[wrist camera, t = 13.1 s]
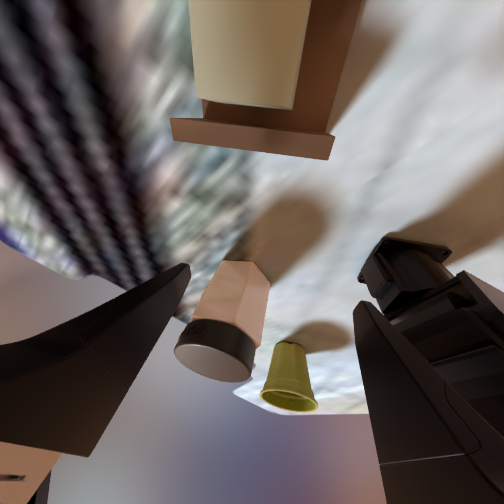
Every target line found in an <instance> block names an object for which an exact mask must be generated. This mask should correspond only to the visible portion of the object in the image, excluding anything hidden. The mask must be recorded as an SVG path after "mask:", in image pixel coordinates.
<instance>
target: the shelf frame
mask: <svg viewBox="0 0 504 504" xmlns="http://www.w3.org/2000/svg"><path fill="white" fill-rule="evenodd" d="M360 3H361V0H311V5H310V11H309V17H308V22H307V28H306V34H305V40H304V45H303V51H302V57H301V63H300V68H299V74H298V80H297V86H296V91H295V97H294V103H293V109H292V111H291V110H281V109H271V108H261V107H251V106H242V105H232V104H223V103H218V102H214V101H209V100H205V99H202V105H203V118H170V123H171V129H172V136H173V141H181V142H189V143H197V144H204V145H212V146H220V147H227V148H235V149H243V150H251V151H258V152H266V153H274V154H281V155H289V156H297V157H305V158H312V159H320V160H328V159H329V156H330V153H331V149H332V146H333V143H334V140H335V136H332V135H330V134H328V133H326V132H325V129H326V126H327V122H328V118H329V115H330V111H331V108H332V104H333V100H334V97H335V93H336V90H337V86H338V82H339V79H340V75H341V72H342V68H343V64H344V61H345V57H346V54H347V50H348V46H349V43H350V39H351V36H352V32H353V28H354V25H355V21H356V18H357V14H358V10H359V7H360Z"/></svg>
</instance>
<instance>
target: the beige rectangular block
mask: <svg viewBox="0 0 504 504" xmlns="http://www.w3.org/2000/svg"><path fill="white" fill-rule="evenodd" d="M188 2H189V14H190V27H191V39H192V52H193V64H194V76H195V89H196V98H200V99H205V100H209V101H214V102H218V103H223V104H232V105H242V106H251V107H261V108H271V109H281V110H291V111H292V109H293V103H294V97H295V91H296V86H297V80H298V74H299V68H300V63H301V57H302V51H303V45H304V40H305V34H306V28H307V22H308V17H309V11H310V5H311V0H188Z"/></svg>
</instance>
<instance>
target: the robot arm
mask: <svg viewBox="0 0 504 504" xmlns="http://www.w3.org/2000/svg"><path fill="white" fill-rule="evenodd" d="M386 241H388V242H387V243H385V242H386ZM443 252H444V253H443ZM451 253H452V251H451V250H450V249H449V248H448V247H443V246H437V245H431V244H425V243H419V242H414V241H408V240H402V239H396V238H390V237H385V238H383V239H381V241H380V242H379V244H378V245H377V247H376V248H375V250H374V252H373V253H372V254H371V255H370V256H369V258H368V259H367V261H366V262H365V264H364V266H363V267H362V269H361V272H360V274H359V275H358V277H357V279H358V282H360V283H364V284H367V287H368V289H369V292H370V294H371V296H372V297H373V298H376V300H377V302H378V305H379V307H380V309H381V311H382V313H383V314H385V315H383V314H382V313H381V312H380V311H379V310H378V309H377V308H376V307H375V306H374V305H373V304H372V303H371V302H368V301H363V300H362V301H360V302H359V303H358V305H357V306H356V307H355V309H354V310H353V323H354V335H355V345H356V350H357V355H358V360H359V365H360V370H361V375H362V380H363V385H364V390H365V395H366V400H367V405H368V410H369V415H370V420H371V425H372V429H373V435H374V440H375V445H376V450H377V455H378V460H379V464H380V471H381V476H382V481H383V486H384V491H385V496H386V501H387V504H504V292H502V291H500V290H498V289H497V288H495V287H493V286H491V285H489V284H488V283H486V282H484V281H482V280H481V279H479V278H477V277H475V276H474V275H472V274H470V273H468V272H466V271H465V270H463V271H462V272H460V273H458V274H456V275H457V276H455V277H454V276H453V275H452V274H451V273H450V272H449V271H448V270H447V269H446V268H445V267H444V266H443V265H442V263H443V262H444V261H445V260H446V259H447V258H448V257H449V255H450V254H451ZM190 279H191V270H190V265H189V264H186V263H180V264H178V265H176V266H174V267H172V268H170V269H169V270H167V271H165V272H163V273H161V274H159V275H157V276H155V277H153V278H152V279H150V280H148V281H146V282H144V283H142V284H140V285H138V286H136V287H135V288H133V289H131V290H129V291H127V292H125V293H123V294H121V295H119V296H118V297H116V298H115V299H112V300H110V301H108V302H106V303H104V304H102V305H101V306H98V307H96V308H94V309H92V310H90V311H88V312H86V313H84V314H82V315H80V316H78V317H76V318H74V319H71V320H69V321H67V322H65V323H63V324H60V325H58V326H56V327H54V328H52V329H49V330H47V331H45V332H43V333H40V334H38V335H36V336H33V337H31V338H28V339H25V340H22V341H18V342H14V343H9V344H4V345H0V504H47V500H48V492H49V483H50V476H51V469H52V467H53V466H54V464H55V463H56V462H57V460H58V459H59V457H60V456H61V455H62V453H66V454H71V455H77V456H82V457H89V456H90V454H91V453H92V451H93V450H94V448H95V446H96V444H97V443H98V441H99V439H100V438H101V436H102V434H103V433H104V431H105V429H106V427H107V426H108V424H109V422H110V421H111V419H112V417H113V416H114V414H115V412H116V410H117V409H118V407H119V405H120V404H121V402H122V400H123V399H124V397H125V395H126V393H127V392H128V390H129V388H130V386H131V385H132V383H133V381H134V380H135V378H136V376H137V375H138V373H139V371H140V369H141V368H142V366H143V364H144V363H145V361H146V359H147V358H148V356H149V354H150V352H151V351H152V349H153V347H154V346H155V344H156V342H157V341H158V339H159V337H160V335H161V334H162V332H163V330H164V329H165V327H166V325H167V324H168V322H169V320H170V318H171V317H172V315H173V313H174V312H175V310H176V308H177V307H178V305H179V303H180V301H181V299H182V297H183V294H184V292H185V290H186V288H187V286H188V283H189V281H190Z"/></svg>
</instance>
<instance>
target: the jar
mask: <svg viewBox="0 0 504 504" xmlns="http://www.w3.org/2000/svg"><path fill="white" fill-rule="evenodd" d="M269 289H270V282H269V281H268V280H267V279H266V277H265V276H264V275H263V274H262V272H261V271H260V270H259V269H258V267H257V266H256V265H255V264H254V263H253V262H245V261H227V260H223V261H221V263H220V265H219V267H218V269H217V271H216V272H215V274H214V276H213V278H212V280H211V281H210V282H209V284H208V286H207V288H206V290H205V291H204V293H203V295H202V297H201V299H200V301H199V303H198V305H197V308H196V309H195V311H194V313H193V315H192V317H191V320H190V322H189V323H188V324H187V326H186V328H185V329H184V331H183V332H182V333H181V335H180V337H179V339H178V342H177V344H176V346H175V348H174V354H175V356H176V358H177V359H178V360H179V361H180V362H181V363H182V364H183V365H184V366H186V367H187V368H189V369H190V370H192V371H194V372H196V373H198V374H200V375H202V376H205V377H208V378H211V379H214V380H218V381H224V382H242V381H245V380H247V379H248V378H249V377H250V376H251V372H252V367H253V361H254V356H255V350H256V349H257V348H258V347H259V346H260V343H261V337H262V331H263V325H264V319H265V313H266V307H267V301H268V295H269Z"/></svg>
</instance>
